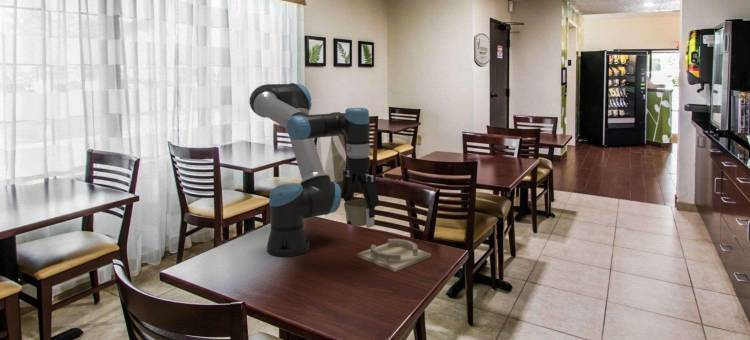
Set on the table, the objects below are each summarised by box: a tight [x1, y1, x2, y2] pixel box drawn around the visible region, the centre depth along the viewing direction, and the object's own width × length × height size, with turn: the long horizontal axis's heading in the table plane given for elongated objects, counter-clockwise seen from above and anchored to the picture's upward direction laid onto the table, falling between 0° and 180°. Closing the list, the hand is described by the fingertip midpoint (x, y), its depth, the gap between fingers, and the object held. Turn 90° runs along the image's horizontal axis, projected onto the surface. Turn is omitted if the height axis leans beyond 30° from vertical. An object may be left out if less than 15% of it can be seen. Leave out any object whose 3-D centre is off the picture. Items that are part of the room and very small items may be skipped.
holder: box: [357, 238, 432, 273], centre depth 171 cm, size 18×18×4 cm
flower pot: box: [343, 199, 371, 227], centre depth 162 cm, size 10×10×7 cm
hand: (360, 223), depth 162 cm, fingers closed on flower pot, 10 cm apart
